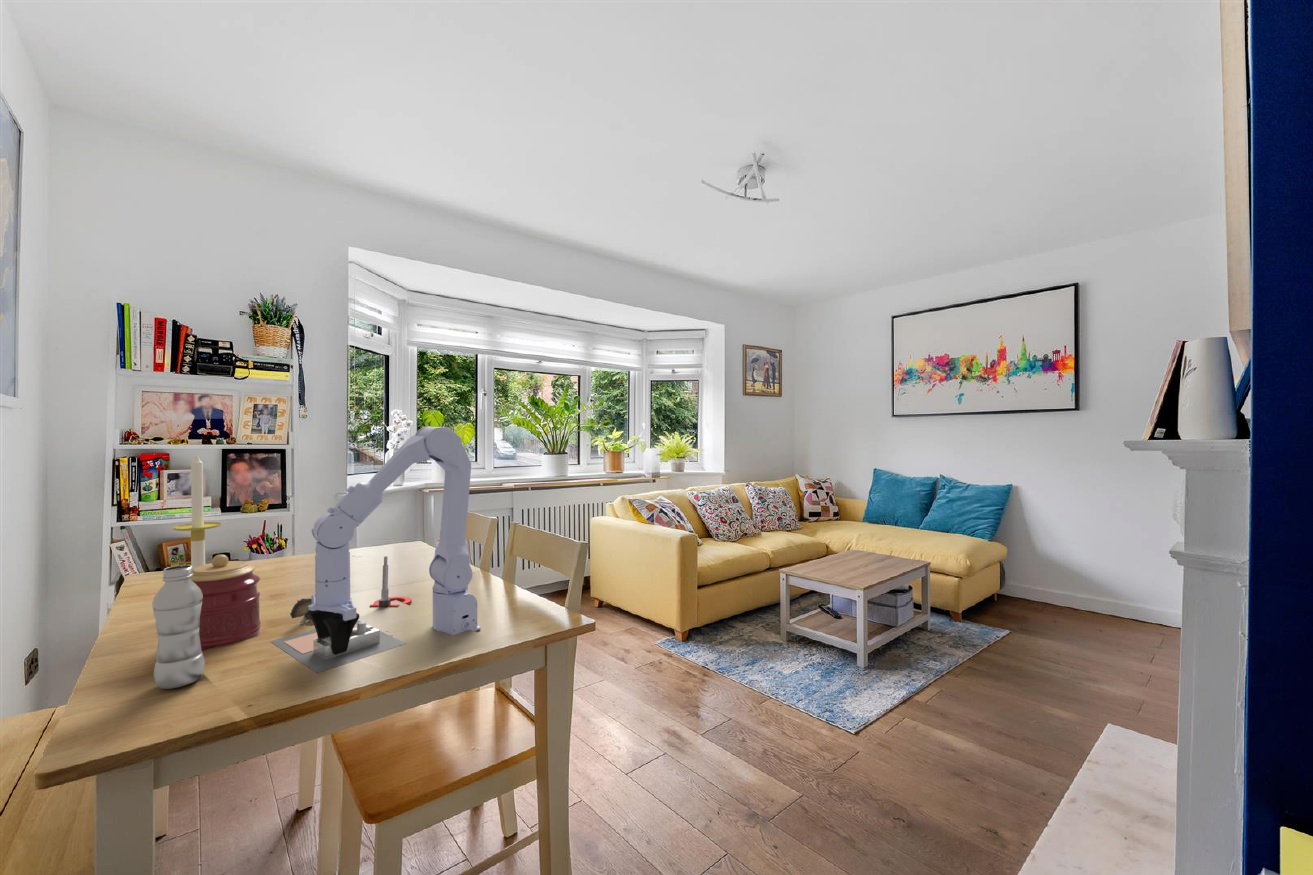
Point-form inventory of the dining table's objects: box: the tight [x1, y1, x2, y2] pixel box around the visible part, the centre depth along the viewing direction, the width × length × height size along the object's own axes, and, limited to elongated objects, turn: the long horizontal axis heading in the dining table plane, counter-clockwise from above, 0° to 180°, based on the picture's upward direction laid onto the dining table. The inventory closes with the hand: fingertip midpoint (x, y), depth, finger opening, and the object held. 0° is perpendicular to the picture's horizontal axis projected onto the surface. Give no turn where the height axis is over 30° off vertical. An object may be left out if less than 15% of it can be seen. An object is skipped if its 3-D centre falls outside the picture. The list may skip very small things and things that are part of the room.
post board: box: [270, 619, 407, 674], centre depth 107 cm, size 22×16×5 cm
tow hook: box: [369, 555, 413, 609], centre depth 132 cm, size 8×13×9 cm
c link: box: [313, 623, 381, 660], centre depth 104 cm, size 5×10×2 cm, turn 143°
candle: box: [173, 452, 222, 570], centre depth 125 cm, size 10×10×38 cm
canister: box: [191, 554, 262, 652], centre depth 109 cm, size 13×13×18 cm
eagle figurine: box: [289, 598, 314, 627], centre depth 118 cm, size 8×7×9 cm
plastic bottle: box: [151, 564, 206, 690], centre depth 91 cm, size 6×7×20 cm
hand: (333, 648), depth 102 cm, fingers closed on c link, 5 cm apart
